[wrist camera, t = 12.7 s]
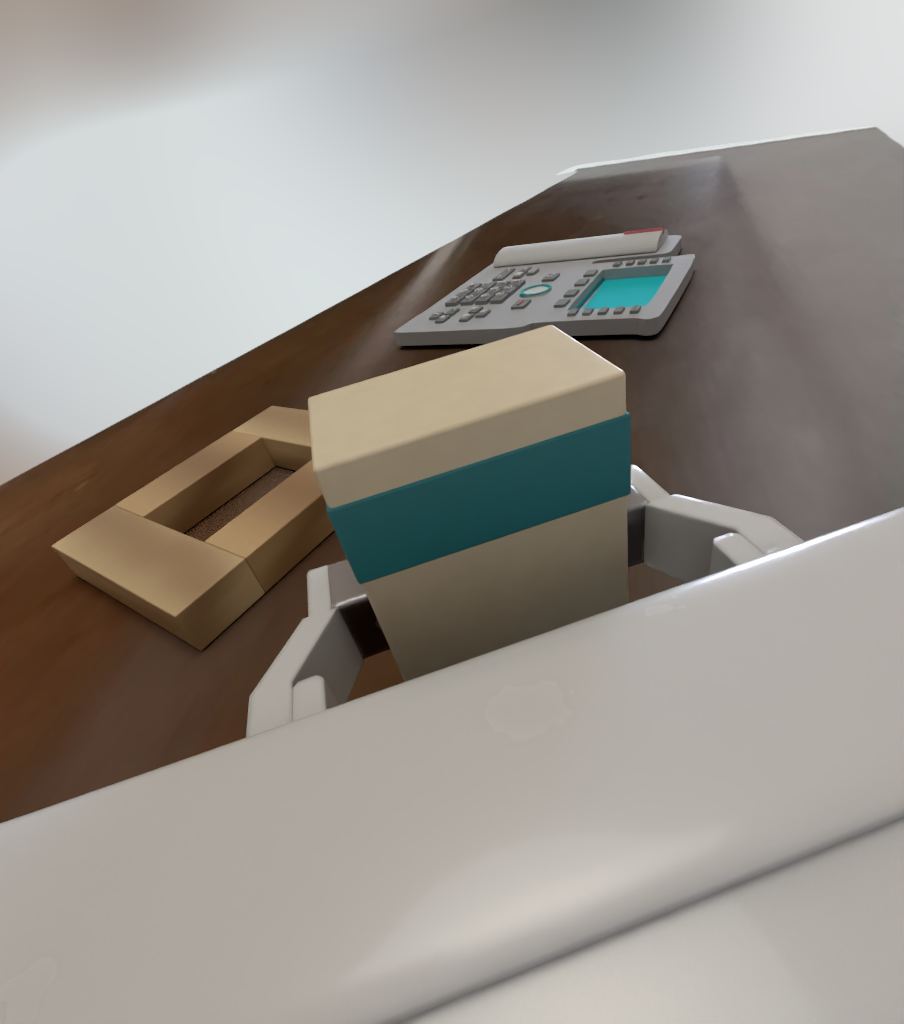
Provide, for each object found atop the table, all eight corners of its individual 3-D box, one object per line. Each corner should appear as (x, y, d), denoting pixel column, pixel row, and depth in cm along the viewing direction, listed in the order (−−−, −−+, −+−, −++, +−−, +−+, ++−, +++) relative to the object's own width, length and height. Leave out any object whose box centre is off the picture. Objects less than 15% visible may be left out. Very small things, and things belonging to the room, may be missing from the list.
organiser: (201, 652, 20) (174, 617, 19) (76, 575, 26) (50, 545, 25) (416, 456, 28) (406, 423, 27) (284, 432, 34) (271, 405, 33)
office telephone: (506, 238, 56) (712, 212, 47) (509, 264, 58) (710, 244, 48) (387, 315, 41) (658, 301, 31) (396, 348, 43) (656, 344, 33)
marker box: (443, 777, 14) (308, 472, 8) (419, 680, 17) (303, 396, 11) (633, 706, 15) (632, 371, 9) (581, 622, 17) (553, 321, 12)
